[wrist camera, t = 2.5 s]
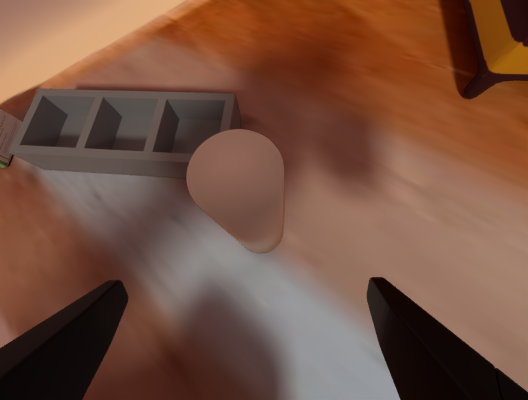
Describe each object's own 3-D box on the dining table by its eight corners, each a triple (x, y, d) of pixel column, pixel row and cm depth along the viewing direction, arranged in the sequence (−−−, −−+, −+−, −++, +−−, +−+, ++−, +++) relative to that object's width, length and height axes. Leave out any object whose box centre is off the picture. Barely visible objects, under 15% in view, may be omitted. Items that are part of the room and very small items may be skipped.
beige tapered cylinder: (234, 251, 21) (177, 215, 9) (240, 206, 22) (196, 127, 11) (281, 255, 20) (280, 223, 9) (284, 210, 21) (287, 130, 10)
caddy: (44, 169, 25) (7, 152, 21) (68, 112, 27) (38, 88, 24) (232, 181, 23) (223, 164, 19) (241, 118, 25) (235, 93, 22)
